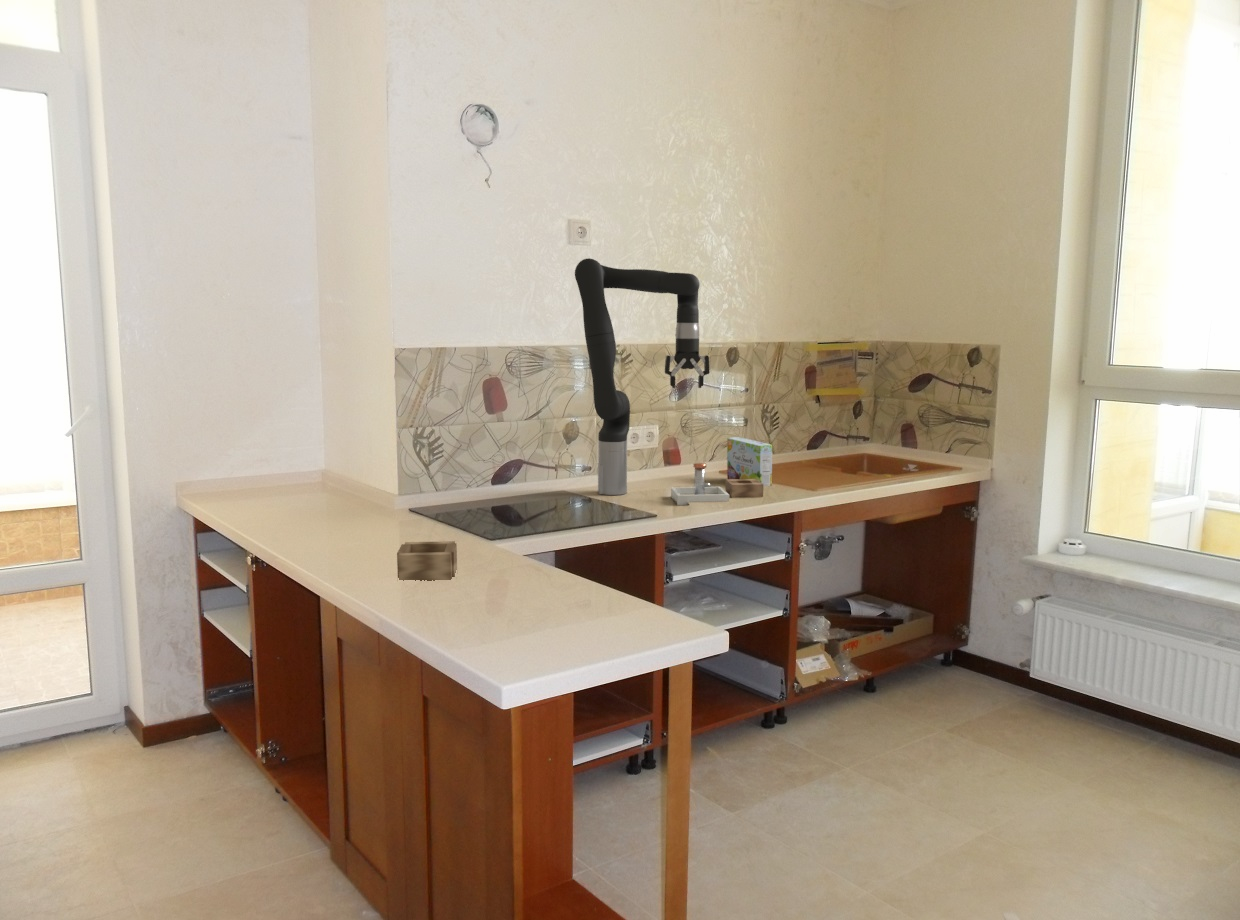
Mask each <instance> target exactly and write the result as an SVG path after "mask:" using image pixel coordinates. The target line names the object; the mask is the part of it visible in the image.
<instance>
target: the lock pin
mask: <svg viewBox="0 0 1240 920" xmlns="http://www.w3.org/2000/svg"><path fill="white" fill-rule="evenodd" d="M692 467H693V468H694V486H693V487H694V494H693V495H706V494H705V483H706V480H705V479H706V468H707V463H705V462H695V463H693V466H692Z"/></svg>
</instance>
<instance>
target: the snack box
mask: <svg viewBox="0 0 1240 920" xmlns="http://www.w3.org/2000/svg"><path fill="white" fill-rule="evenodd" d="M726 442H727V445H726V446H727V447H726V450H727V451H726V453H727V455H726V456H727V458H726V459H727V462H726V463H727V466H726V467H727V470H726V473H727V474H726V475H727V476H726V479H757V480H758V481H760V482H761V483H762V484H763V487H769V486H770V487H771V486H772V483H773V482H772V481H773V480H772V478H773V444H770V443H766V442H762V441H758V440H754V439H750V438H746V437H745V438H744V437H741V436H732V437H727V441H726Z"/></svg>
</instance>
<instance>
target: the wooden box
mask: <svg viewBox="0 0 1240 920" xmlns="http://www.w3.org/2000/svg"><path fill="white" fill-rule="evenodd" d="M724 490H725V491H726V492H727V493H728V494H729V497H730V498H734V499H735V498H764V486H763V484H762V483H761V482H760V481H758V480H757V479H727V478H725V489H724Z"/></svg>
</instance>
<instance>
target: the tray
mask: <svg viewBox="0 0 1240 920" xmlns="http://www.w3.org/2000/svg"><path fill="white" fill-rule="evenodd" d="M670 497H671V498H672V500H673V501H674V503H675V504H676V505H677V506H690V503H706V502H707V503H708V502H709V503H711V502H713V503H714V502H715V503H716V502H717V503H718V502H721V503H722V502H730V496H729V494H728V493H727V492H726V491H725V489H724V488H723V487H722V486H717V487H705V495H694V486H681V487H680V486H679V487H678V486H677V487H676V486H674V487H670Z"/></svg>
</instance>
